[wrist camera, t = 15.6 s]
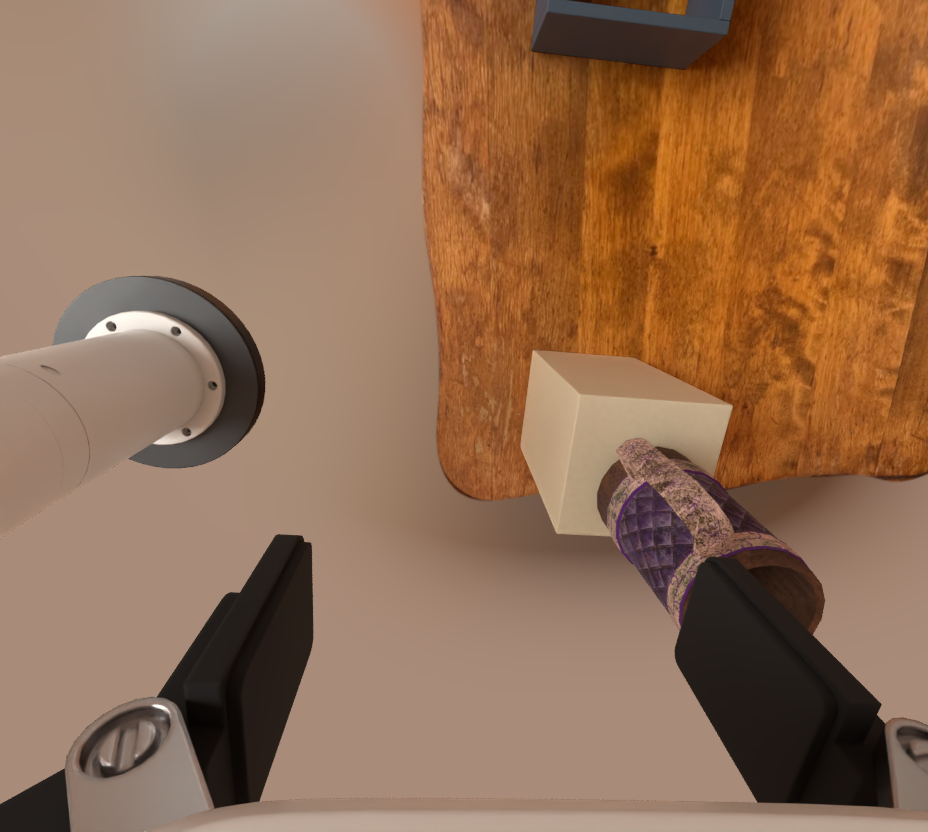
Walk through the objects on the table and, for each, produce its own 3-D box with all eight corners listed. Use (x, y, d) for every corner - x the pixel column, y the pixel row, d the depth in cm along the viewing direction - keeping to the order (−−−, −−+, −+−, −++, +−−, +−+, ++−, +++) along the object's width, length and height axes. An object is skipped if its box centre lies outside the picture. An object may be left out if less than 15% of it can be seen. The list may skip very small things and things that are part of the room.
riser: (519, 447, 47) (556, 534, 32) (532, 349, 44) (579, 394, 29) (615, 453, 48) (696, 541, 32) (634, 357, 44) (733, 405, 29)
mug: (713, 507, 32) (865, 644, 20) (619, 554, 32) (714, 711, 21) (656, 383, 29) (796, 460, 17) (554, 438, 30) (624, 546, 18)
